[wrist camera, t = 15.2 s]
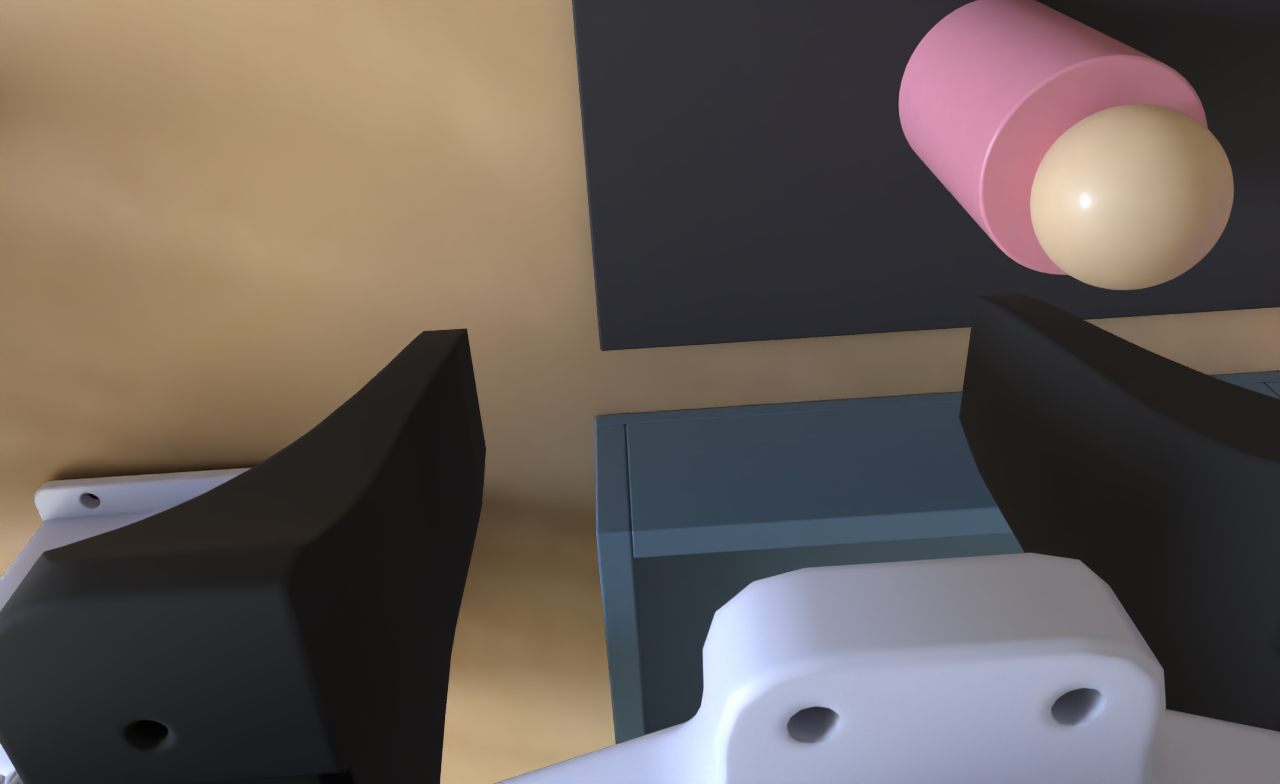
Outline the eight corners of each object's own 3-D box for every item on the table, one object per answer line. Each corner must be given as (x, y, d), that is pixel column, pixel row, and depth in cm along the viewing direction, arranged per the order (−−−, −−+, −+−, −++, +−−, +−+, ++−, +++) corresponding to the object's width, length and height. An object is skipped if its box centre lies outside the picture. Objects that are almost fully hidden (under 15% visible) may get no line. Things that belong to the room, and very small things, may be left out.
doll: (897, 187, 23) (1031, 364, 16) (898, 9, 21) (1052, 121, 14) (1069, 164, 23) (1279, 331, 16) (1087, -18, 21) (1337, 82, 14)
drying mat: (600, 342, 26) (600, 352, 25) (556, -199, 19) (555, -199, 19) (1294, 297, 26) (1306, 306, 25) (1472, -253, 20) (1492, -255, 19)
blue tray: (631, 825, 36) (636, 965, 32) (594, 415, 27) (596, 534, 23) (1143, 789, 36) (1217, 923, 32) (1281, 370, 27) (1411, 480, 23)
